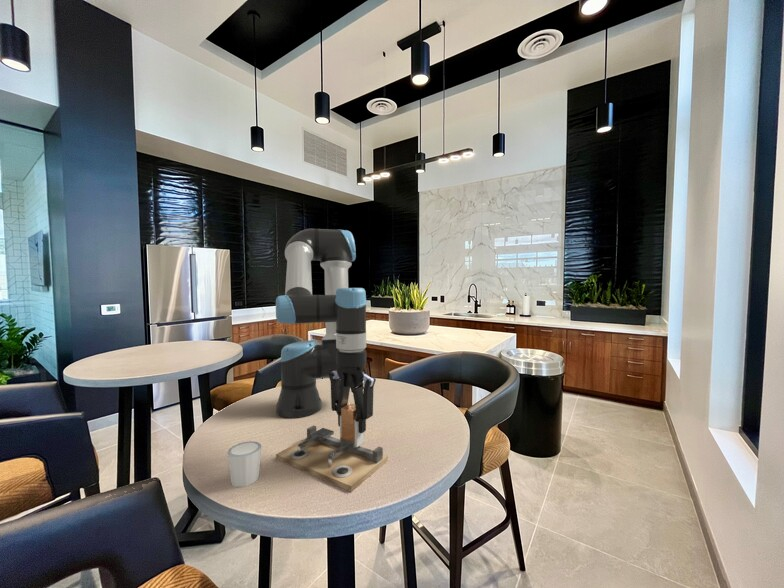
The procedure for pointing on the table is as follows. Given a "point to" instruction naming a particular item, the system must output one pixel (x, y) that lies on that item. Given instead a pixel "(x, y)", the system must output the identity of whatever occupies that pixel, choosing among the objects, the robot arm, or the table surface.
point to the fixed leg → (315, 438)
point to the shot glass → (244, 463)
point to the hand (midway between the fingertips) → (351, 441)
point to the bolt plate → (334, 461)
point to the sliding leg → (345, 432)
